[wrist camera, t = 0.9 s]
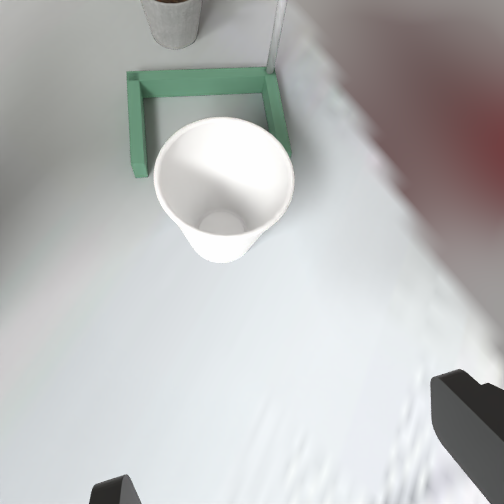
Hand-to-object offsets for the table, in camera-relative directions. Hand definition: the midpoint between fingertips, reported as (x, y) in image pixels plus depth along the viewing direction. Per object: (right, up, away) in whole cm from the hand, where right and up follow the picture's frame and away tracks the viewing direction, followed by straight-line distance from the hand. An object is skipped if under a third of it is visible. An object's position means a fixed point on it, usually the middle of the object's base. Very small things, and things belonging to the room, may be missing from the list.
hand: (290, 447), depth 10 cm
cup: (-4, +7, +28) cm, 29 cm away
